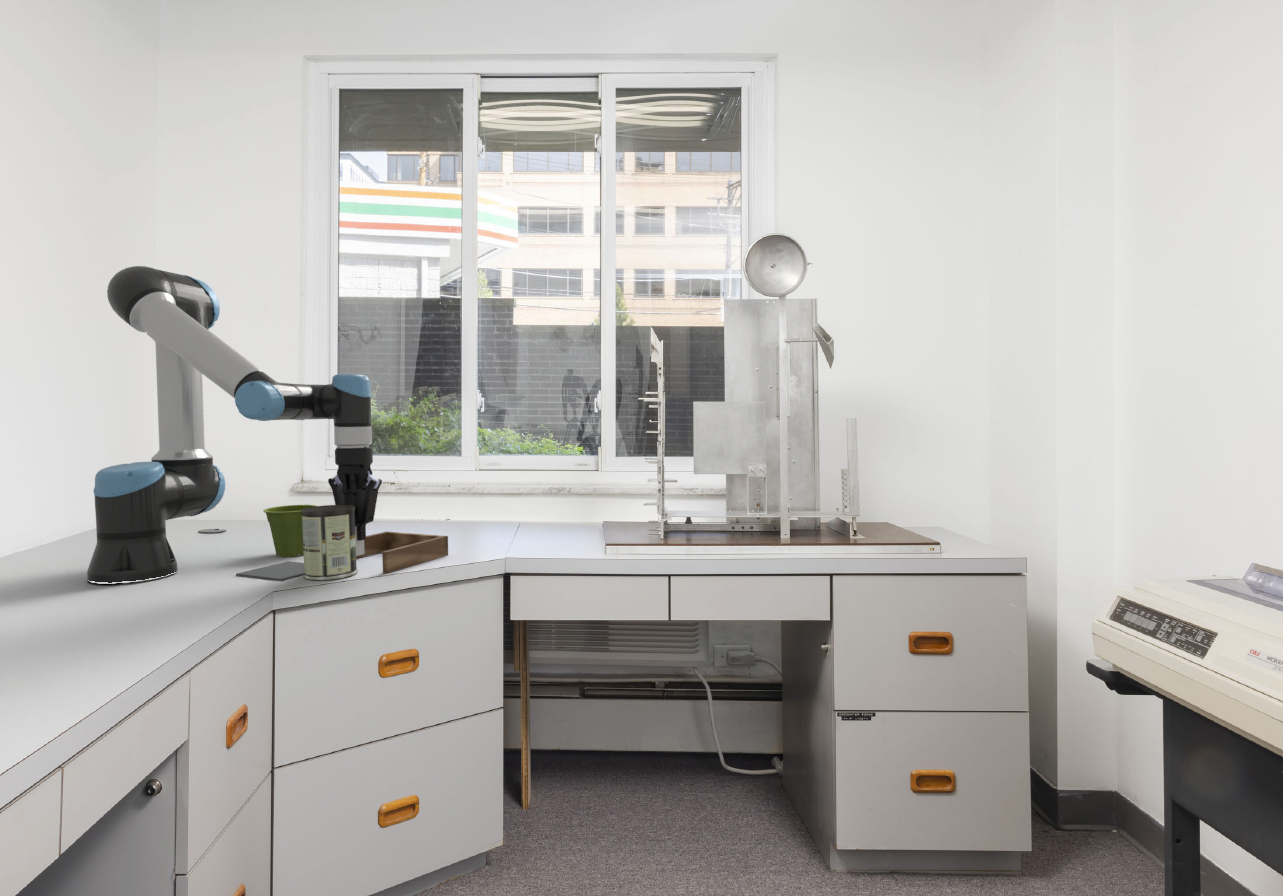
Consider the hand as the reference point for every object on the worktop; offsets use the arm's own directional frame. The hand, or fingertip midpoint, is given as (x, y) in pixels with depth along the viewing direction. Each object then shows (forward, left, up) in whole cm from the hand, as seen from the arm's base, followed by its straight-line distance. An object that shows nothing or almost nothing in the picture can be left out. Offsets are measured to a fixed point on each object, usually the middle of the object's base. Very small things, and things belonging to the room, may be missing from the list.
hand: (357, 554), depth 153 cm
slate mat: (-13, -8, -3) cm, 15 cm away
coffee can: (-1, -7, -3) cm, 7 cm away
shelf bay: (0, +9, -3) cm, 10 cm away
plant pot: (-26, +6, -3) cm, 27 cm away
